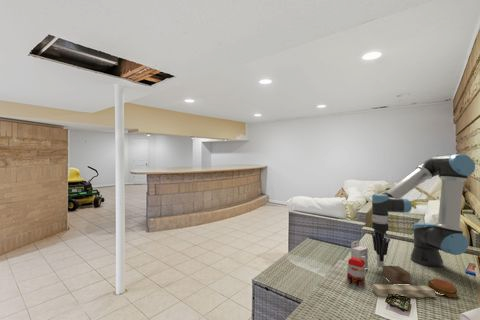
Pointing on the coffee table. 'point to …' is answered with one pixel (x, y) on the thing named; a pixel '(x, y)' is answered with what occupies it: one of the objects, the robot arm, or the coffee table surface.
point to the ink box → (359, 252)
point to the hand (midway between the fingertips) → (380, 266)
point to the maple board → (404, 290)
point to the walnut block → (396, 275)
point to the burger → (443, 287)
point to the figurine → (356, 270)
